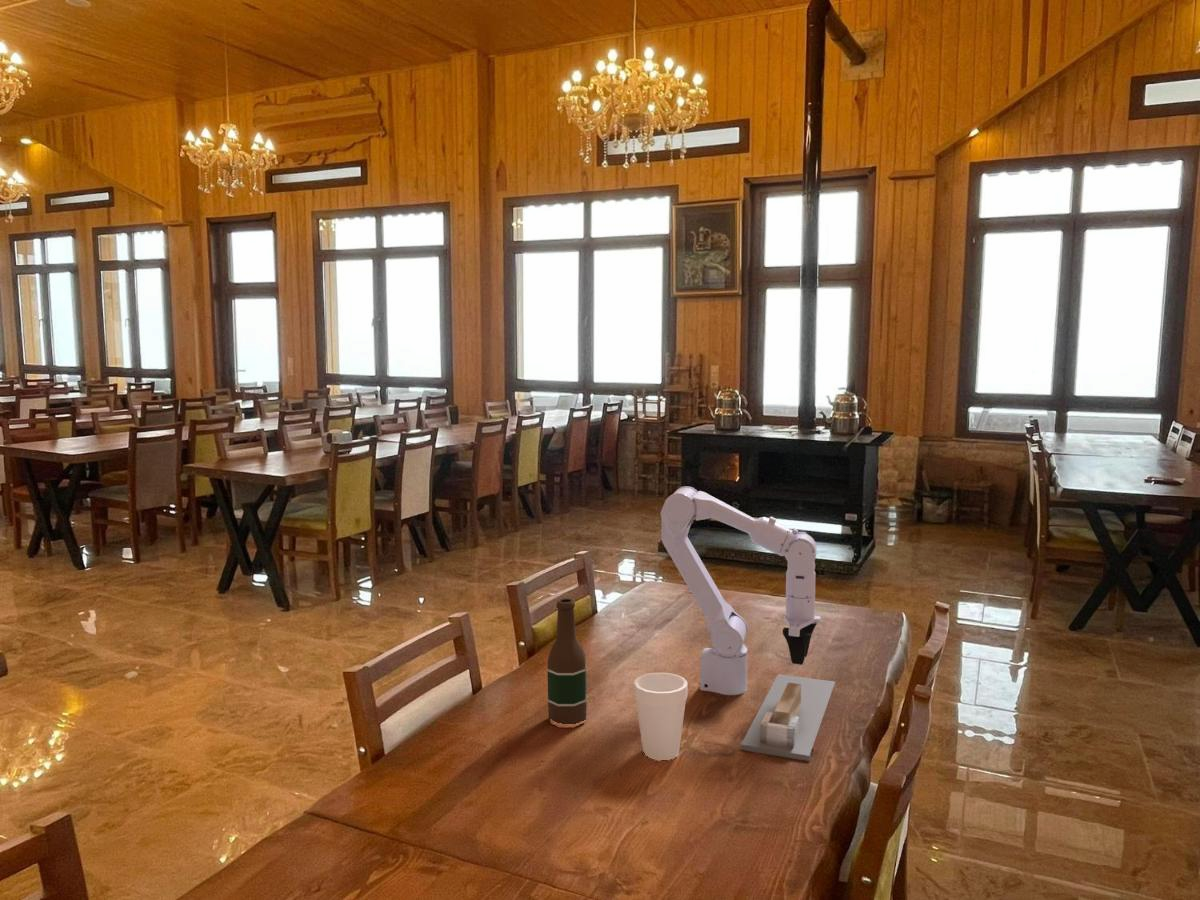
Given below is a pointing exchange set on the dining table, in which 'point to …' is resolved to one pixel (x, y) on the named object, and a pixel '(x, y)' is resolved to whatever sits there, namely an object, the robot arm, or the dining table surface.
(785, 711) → the birch slat
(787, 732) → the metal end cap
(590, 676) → the dining table surface
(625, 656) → the dining table surface
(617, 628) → the dining table surface
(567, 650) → the beer bottle
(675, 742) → the foam cup
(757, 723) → the assembly board
